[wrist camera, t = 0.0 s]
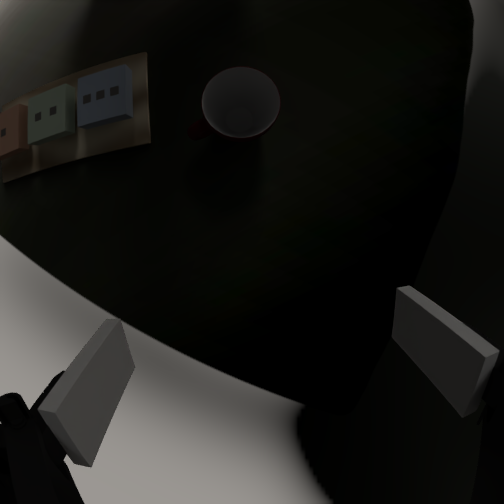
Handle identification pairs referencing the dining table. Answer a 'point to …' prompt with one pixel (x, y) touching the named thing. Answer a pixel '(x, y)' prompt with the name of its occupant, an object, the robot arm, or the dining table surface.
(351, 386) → the dining table surface
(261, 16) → the dining table surface
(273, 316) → the dining table surface
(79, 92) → the tile
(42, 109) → the tile
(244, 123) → the mug
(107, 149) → the board
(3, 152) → the tile
